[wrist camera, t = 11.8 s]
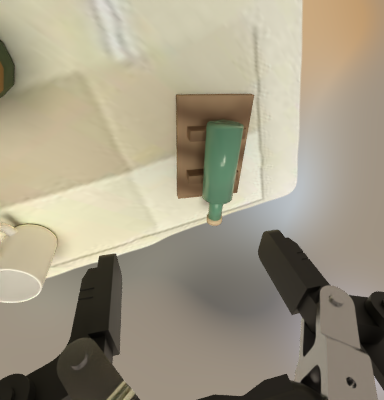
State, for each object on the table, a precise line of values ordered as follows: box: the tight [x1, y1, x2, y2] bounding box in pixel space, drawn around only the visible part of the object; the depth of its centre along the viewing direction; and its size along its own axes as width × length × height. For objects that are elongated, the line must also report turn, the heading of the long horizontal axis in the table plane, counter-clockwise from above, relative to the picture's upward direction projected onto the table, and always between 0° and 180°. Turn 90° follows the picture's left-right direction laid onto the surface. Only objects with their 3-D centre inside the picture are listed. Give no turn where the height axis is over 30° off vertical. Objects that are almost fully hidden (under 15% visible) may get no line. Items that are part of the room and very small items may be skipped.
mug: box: [0, 223, 57, 303], centre depth 36 cm, size 12×8×10 cm
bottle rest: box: [176, 94, 254, 199], centre depth 38 cm, size 18×12×4 cm, turn 179°
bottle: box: [202, 120, 244, 226], centre depth 36 cm, size 18×5×5 cm, turn 179°
